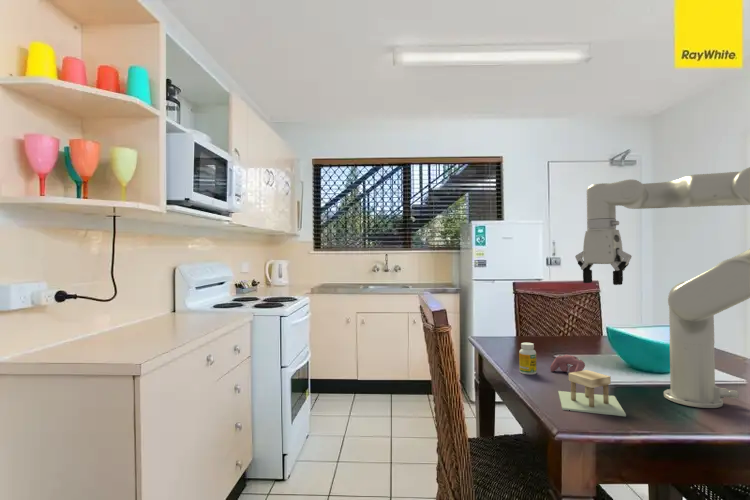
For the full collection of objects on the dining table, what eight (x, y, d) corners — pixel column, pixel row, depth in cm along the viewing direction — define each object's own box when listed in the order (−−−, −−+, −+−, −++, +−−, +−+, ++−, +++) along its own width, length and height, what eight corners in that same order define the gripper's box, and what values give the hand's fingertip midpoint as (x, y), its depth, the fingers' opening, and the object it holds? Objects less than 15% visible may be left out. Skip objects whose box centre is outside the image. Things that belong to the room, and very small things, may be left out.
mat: (614, 397, 115) (614, 396, 115) (626, 416, 102) (625, 414, 102) (558, 392, 120) (558, 390, 120) (562, 409, 106) (562, 407, 106)
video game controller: (583, 381, 135) (588, 360, 137) (576, 376, 133) (581, 355, 135) (555, 374, 144) (560, 354, 145) (548, 370, 141) (553, 350, 143)
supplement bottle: (524, 369, 144) (523, 341, 144) (539, 372, 140) (539, 343, 140) (516, 372, 140) (516, 343, 140) (531, 375, 136) (531, 346, 136)
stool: (587, 395, 115) (586, 369, 115) (610, 403, 109) (610, 376, 109) (568, 399, 112) (568, 373, 112) (592, 408, 106) (591, 380, 106)
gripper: (638, 224, 119) (639, 285, 119) (584, 228, 135) (585, 281, 134) (620, 223, 116) (621, 286, 116) (567, 227, 131) (568, 282, 131)
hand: (602, 283), depth 125 cm, fingers open, 9 cm apart
